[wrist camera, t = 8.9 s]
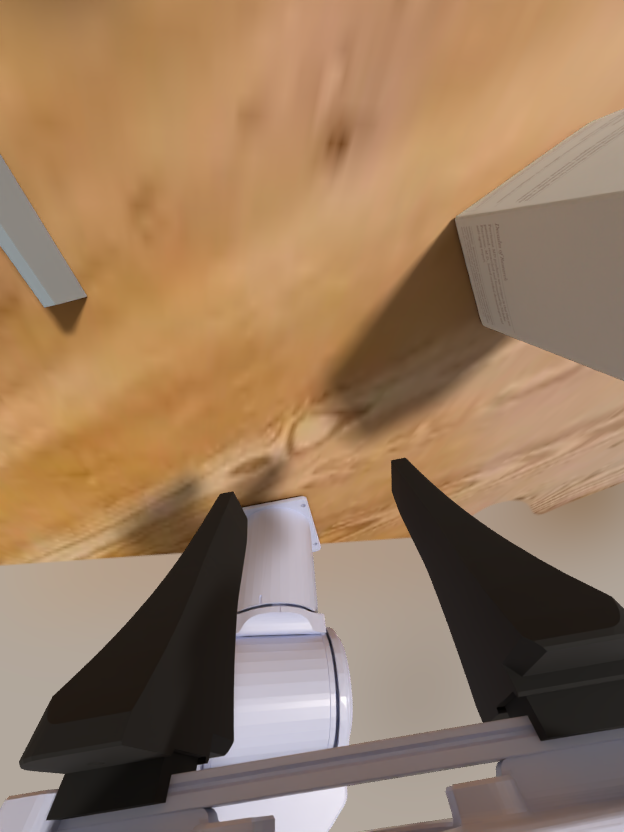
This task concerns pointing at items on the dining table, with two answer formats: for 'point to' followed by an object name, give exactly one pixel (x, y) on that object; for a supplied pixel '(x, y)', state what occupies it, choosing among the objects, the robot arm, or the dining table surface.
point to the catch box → (33, 246)
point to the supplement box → (556, 249)
